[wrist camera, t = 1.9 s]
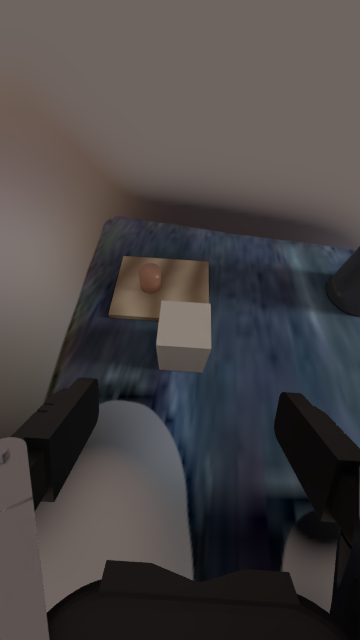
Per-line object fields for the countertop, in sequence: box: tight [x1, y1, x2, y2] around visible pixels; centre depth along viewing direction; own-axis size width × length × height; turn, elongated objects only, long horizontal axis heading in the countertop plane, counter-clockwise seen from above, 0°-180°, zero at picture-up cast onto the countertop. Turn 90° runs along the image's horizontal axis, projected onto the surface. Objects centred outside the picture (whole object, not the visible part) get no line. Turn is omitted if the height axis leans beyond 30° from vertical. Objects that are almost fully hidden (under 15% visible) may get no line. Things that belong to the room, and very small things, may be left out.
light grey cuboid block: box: [156, 300, 211, 373], centre depth 31 cm, size 6×6×8 cm
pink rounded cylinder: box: [138, 263, 162, 293], centre depth 38 cm, size 4×4×4 cm
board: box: [108, 256, 209, 321], centre depth 40 cm, size 16×13×1 cm
